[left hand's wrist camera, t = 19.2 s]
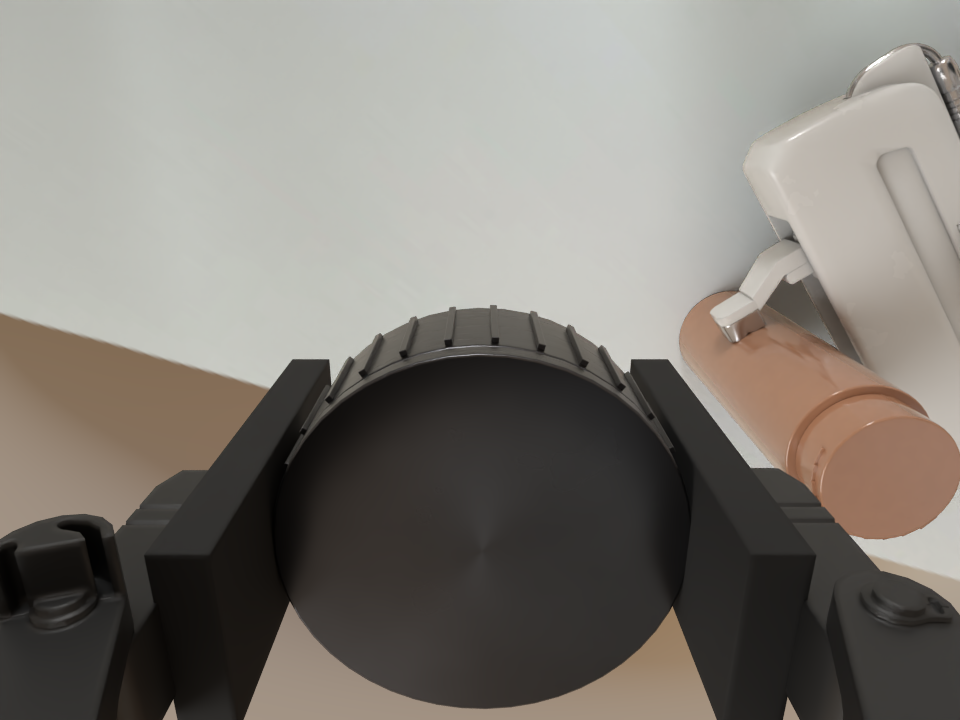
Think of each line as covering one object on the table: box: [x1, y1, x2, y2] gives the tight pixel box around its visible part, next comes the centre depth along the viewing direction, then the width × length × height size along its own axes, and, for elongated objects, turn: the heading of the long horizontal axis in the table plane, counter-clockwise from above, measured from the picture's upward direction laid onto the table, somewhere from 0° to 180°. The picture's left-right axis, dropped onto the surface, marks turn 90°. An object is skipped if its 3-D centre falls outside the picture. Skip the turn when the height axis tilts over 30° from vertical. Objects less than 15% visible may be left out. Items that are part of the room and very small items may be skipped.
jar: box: [679, 291, 960, 540], centre depth 31 cm, size 6×6×17 cm
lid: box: [273, 305, 691, 709], centre depth 11 cm, size 6×6×2 cm
